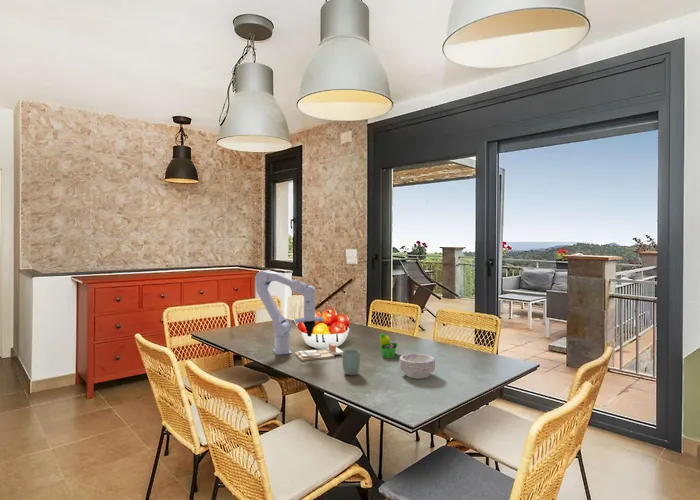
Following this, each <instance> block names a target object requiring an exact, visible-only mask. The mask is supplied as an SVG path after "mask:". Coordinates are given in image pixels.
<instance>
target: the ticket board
mask: <svg viewBox="0 0 700 500" xmlns="http://www.w3.org/2000/svg"><path fill="white" fill-rule="evenodd" d="M293 354H294V356H296V357H297V359H298V360H300V361H301V362H309V361H317V360H318V361H319V360H327V359H336V356H335V355H333V354H332V353H331V352H329V351H328V350H327V348H323V349H309V350H300V351H299V350H298V351H294V353H293Z"/></svg>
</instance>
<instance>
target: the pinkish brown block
mask: <svg viewBox="0 0 700 500" xmlns="http://www.w3.org/2000/svg"><path fill="white" fill-rule="evenodd" d="M326 350H328V351H329V352H330V353H332V354H333V355H334V356H335V355H342V354H343V351H344V350H342V349H341V348H338V347H337V346H336V344H334V343H329V344H328V347H327V348H326Z"/></svg>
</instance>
